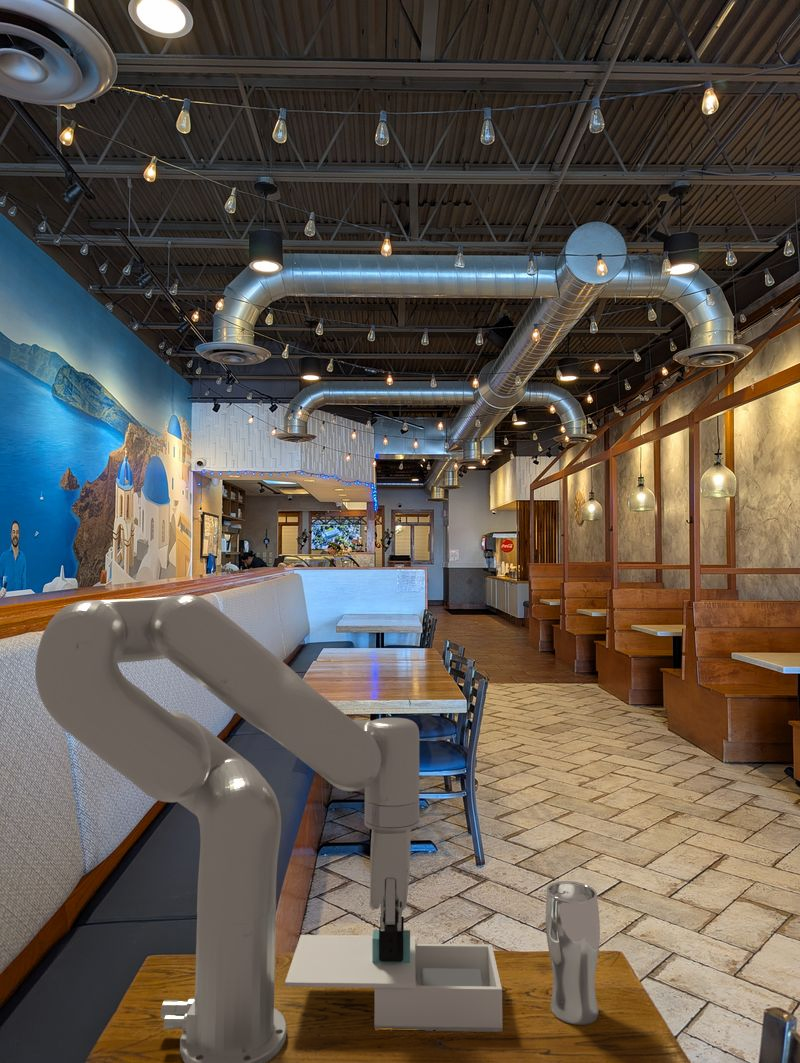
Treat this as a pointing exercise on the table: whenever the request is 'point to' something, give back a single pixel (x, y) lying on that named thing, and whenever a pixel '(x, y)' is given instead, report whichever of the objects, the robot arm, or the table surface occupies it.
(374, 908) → the robot arm
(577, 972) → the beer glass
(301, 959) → the box lid
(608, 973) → the table surface
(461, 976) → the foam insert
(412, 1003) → the mailer box
